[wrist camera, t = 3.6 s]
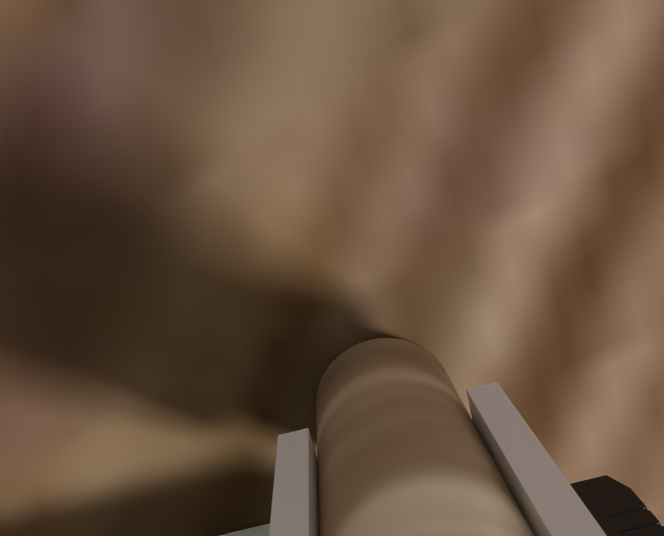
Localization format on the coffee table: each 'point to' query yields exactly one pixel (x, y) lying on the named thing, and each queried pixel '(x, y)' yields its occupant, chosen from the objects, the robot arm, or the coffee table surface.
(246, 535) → the socket block
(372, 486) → the peg
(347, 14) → the coffee table surface
